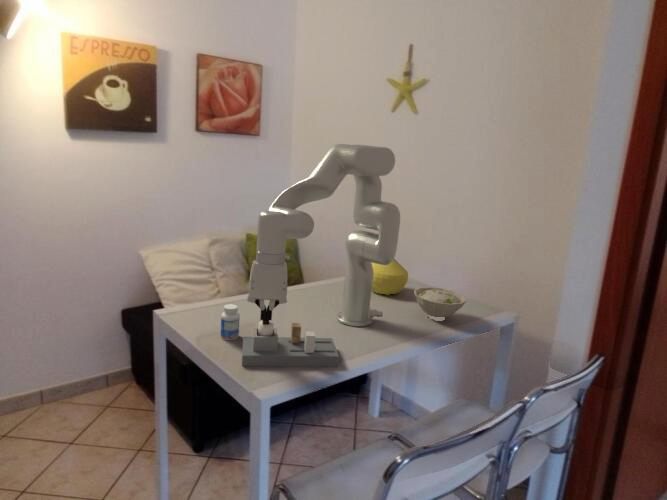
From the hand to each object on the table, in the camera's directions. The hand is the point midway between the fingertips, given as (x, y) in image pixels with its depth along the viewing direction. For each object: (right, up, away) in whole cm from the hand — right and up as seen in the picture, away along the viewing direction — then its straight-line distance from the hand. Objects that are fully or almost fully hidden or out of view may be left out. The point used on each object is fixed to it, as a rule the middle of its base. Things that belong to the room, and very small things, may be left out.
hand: (265, 322), depth 129 cm
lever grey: (+12, -8, +1) cm, 14 cm away
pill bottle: (-13, -6, +13) cm, 19 cm away
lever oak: (+8, -6, +6) cm, 12 cm away
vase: (+40, +2, +71) cm, 81 cm away
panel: (+6, -10, +4) cm, 12 cm away
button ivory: (0, -4, +1) cm, 4 cm away
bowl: (+57, -5, +45) cm, 73 cm away
